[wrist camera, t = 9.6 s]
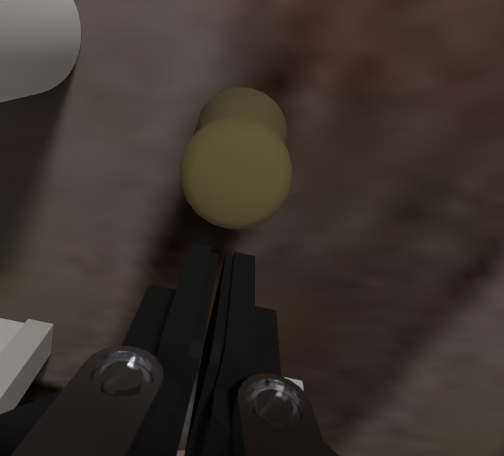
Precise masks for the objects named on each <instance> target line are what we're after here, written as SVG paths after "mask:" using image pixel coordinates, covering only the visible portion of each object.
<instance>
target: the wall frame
mask: <svg viewBox="0 0 504 456" xmlns="http://www.w3.org/2000/svg"><path fill="white" fill-rule="evenodd" d="M53 327H54V324H51V323H46V322H41V321H36V320H31V319H28V320H27V321H26V322H25V323H21V322H17V321H12V320H7V319H2V318H0V414H2V413H5V412H7V411H10V410H12V409H15V407H16V406H17V404H18V403H19V401H20V400H21V398H22V397H23V395H24V394H25V392H26V391H27V389H28V388H29V386H30V384H31V383H32V381H33V380H34V378H35V377H36V375H37V374H38V372H39V371H40V369H41V368H42V366H43V365H44V363H45V362H46V360H47V359H48V357H49V356H50V354H51V349H52V338H53ZM284 378H286V377H284ZM286 379H289V380H291V381H292V382H294V383H295V384H297V385H298V386H299V387H300V388H301V389H302V390H303V384H302V381H300V380H295V379H291V378H286Z"/></svg>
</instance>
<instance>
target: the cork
mask: <svg viewBox="0 0 504 456" xmlns="http://www.w3.org/2000/svg"><path fill="white" fill-rule="evenodd" d="M286 144H287V125H286V121H285V117H284V114H283V113H282V111H281V110H280V108H279V107H278V105H277V103H276V102H275V101H273V100H272V99H271V98H270V97H269V96H267V95H266V94H265V93H263V92H260V91H257V90H255V89H252V88H239V87H235V88H232V89H229V90H225V91H222V92H220V93H219V94H218V95H216V96H215V97H213V98H212V99H211V100H209V102H208V103H207V105H206V106H205V107H204V109H203V110H202V112H201V114H200V117H199V121H198V124H197V132H196V134H195V135H194V136H193V138H192V139H191V140H190V142H189V143H188V145H187V146H186V147H185V149H184V153H183V156H182V159H181V163H180V182H181V186H182V188H183V191H184V194H185V197H186V199H187V201H188V203H189V204H190V205H191V207H192V208H193V209H194V210H195V212H196V213H197V214H198V215H200V216H201V217H202V218H204V219H205V220H207V221H208V222H209V223H211V224H214V225H217V226H220V227H223V228H226V229H245V228H249V227H253V226H257V225H259V224H261V223H263V222H264V221H266V220H267V219H269V218H271V217H272V216H273V215H274V214H275V213H276V212H277V211H278V209H279V208H280V207H281V206H282V205H283V203H284V202H285V200H286V197H287V195H288V192H289V190H290V188H291V182H292V165H291V161H290V157H289V153H288V150H287V148H286Z"/></svg>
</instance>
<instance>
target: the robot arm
mask: <svg viewBox="0 0 504 456" xmlns="http://www.w3.org/2000/svg"><path fill="white" fill-rule="evenodd" d="M211 250H212V247H210V246H206V245H201V244H197V243H191V246H190V249H189V252H188V255H187V259H186V262H185V265H184V268H183V271H182V274H181V277H180V280H179V283H178V286H177V289H171V288H167V287H162V286H157V285H152V284H150V285H149V286H148V288H147V291H146V293H145V295H144V297H143V300H142V302H141V304H140V306H139V309H138V311H137V313H136V315H135V318H134V320H133V322H132V324H131V327H130V329H129V331H128V333H127V336H126V338H125V340H124V342H123V345H122V346H114V347H109V348H105V349H102V350H100V351H98V352H96V353H94V354H93V355H92V356H91V357H90V358H88V359H87V360H86V361H85V363H84V364H83V365H82V366H81V368H80V369H79V370H78V371H77V373H76V374H75V375H74V376H73V378H72V379H71V380H70V381H69V383H68V384H67V385H66V386H65V388H64V389H63V390H61V391H59V392H56V393H54V394H51V395H48V396H46V397H43V398H41V399H38V400H36V401H33V402H30V403H28V404H25V405H23V406H20V407H18V408H15V409H12V410H10V411H7V412H5V413H2V414H0V456H177V452H178V448H179V444H180V440H181V435H182V431H183V427H184V423H185V419H186V415H187V411H188V406H189V402H190V398H191V394H192V390H193V386H194V381H195V377H196V373H197V369H198V365H199V361H200V356H201V352H202V347H203V352H202V357H201V363H200V369H199V375H198V380H197V386H196V392H195V398H194V403H193V409H192V415H191V421H190V426H189V432H188V438H187V444H186V449H185V455H184V456H338V455H337V454H336V453H335V452H334V451H333V450H332V449H331V448H330V447H329V446H328V445H327V444H326V443H324V439H323V436H322V433H321V430H320V427H319V424H318V421H317V418H316V415H315V412H314V409H313V406H312V403H311V402H310V400H309V398H308V396H307V394H306V393H305V392H304V391H303V390H302V389H301V388H300V387H299V386H298V385H297V384H295V383H294V382H292V381H291V380H289V379H286V378H284V377H282V376H281V369H280V356H279V342H278V329H277V316H276V311H275V310H272V309H267V308H263V307H258V306H255V256H252V255H247V254H243V253H238V252H234V255H233V257H231V256H226V255H225V259H224V263H223V267H222V271H221V275H220V279H219V283H218V288H217V292H216V296H215V300H214V304H213V308H212V312H211V317H210V321H209V325H208V329H207V333H206V337H205V331H206V325H207V320H208V314H209V308H210V303H211V297H212V291H213V286H214V280H215V274H216V268H217V263H218V257H219V254H217V253H212V252H211ZM204 337H205V342H204ZM203 342H204V346H203Z"/></svg>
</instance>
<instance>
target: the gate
mask: <svg viewBox="0 0 504 456" xmlns="http://www.w3.org/2000/svg"><path fill="white" fill-rule="evenodd" d="M198 375H199V369H197V373H196V377H195V381H194V386H193V390H192V394H191V398H190V402H189V406H188V411H187V415H186V419H185V423H184V427H183V431H182V435H181V440H180V444H179V448H178V452H177V456H184V455H185V449H186V444H187V438H188V432H189V426H190V421H191V415H192V409H193V403H194V398H195V392H196V386H197V380H198Z"/></svg>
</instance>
